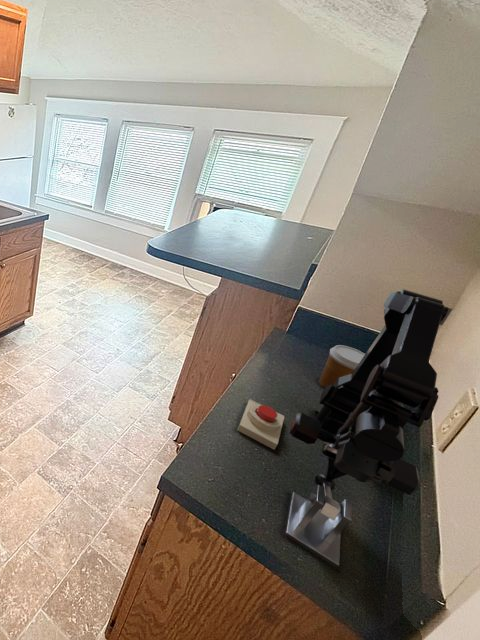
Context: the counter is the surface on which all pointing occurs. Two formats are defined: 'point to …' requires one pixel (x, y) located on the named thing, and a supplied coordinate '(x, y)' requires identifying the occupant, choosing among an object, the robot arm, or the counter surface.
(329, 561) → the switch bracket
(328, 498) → the switch lever
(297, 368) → the counter surface
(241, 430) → the stop block
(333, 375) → the disposable coffee cup
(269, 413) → the stop button
